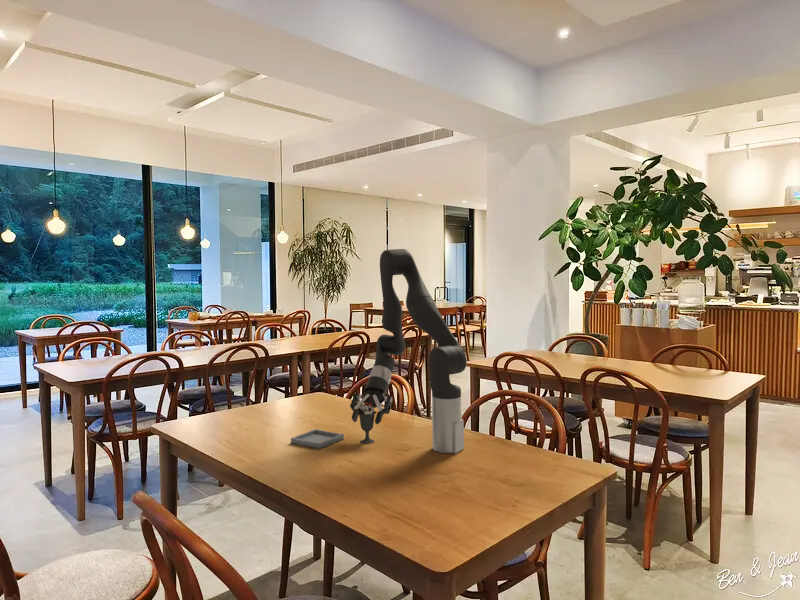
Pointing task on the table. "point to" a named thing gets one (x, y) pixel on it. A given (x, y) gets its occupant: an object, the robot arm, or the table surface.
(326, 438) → the tray
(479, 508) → the table surface
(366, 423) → the sundae
